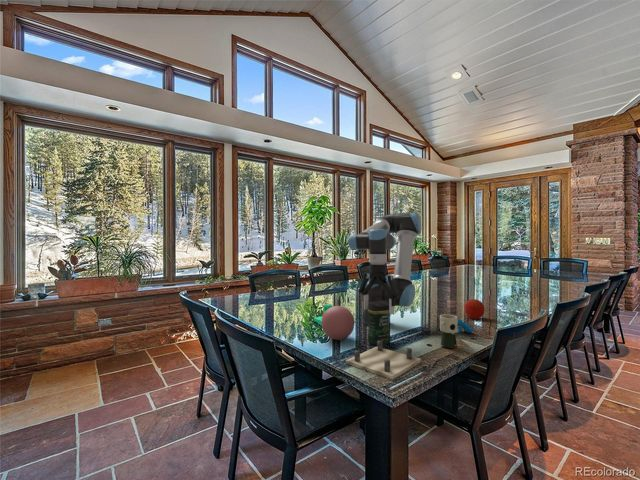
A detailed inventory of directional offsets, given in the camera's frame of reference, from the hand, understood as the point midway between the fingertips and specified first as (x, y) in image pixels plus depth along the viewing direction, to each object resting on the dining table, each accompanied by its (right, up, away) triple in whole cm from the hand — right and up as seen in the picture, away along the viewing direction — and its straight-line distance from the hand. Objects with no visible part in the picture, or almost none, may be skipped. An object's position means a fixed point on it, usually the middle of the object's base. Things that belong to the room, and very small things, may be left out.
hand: (378, 311), depth 140 cm
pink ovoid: (-19, -15, +8) cm, 25 cm away
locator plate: (-2, -14, -22) cm, 27 cm away
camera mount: (-23, -15, +33) cm, 43 cm away
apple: (+62, -13, +38) cm, 74 cm away
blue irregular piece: (+43, -14, +13) cm, 47 cm away
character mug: (+29, -14, -6) cm, 33 cm away
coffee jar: (0, -14, 0) cm, 14 cm away
